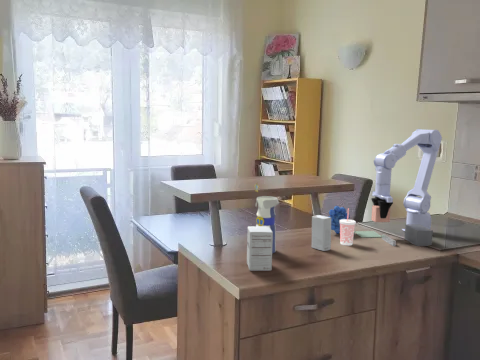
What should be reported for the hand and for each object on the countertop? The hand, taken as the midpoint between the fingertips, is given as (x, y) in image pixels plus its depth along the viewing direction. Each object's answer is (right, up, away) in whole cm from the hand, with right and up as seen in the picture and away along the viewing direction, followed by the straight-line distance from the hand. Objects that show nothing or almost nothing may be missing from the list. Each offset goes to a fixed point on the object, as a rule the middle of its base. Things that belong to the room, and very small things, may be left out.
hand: (380, 216), depth 183 cm
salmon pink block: (0, -2, 0) cm, 2 cm away
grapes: (-16, -8, +5) cm, 18 cm away
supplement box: (-51, -13, -38) cm, 65 cm away
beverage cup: (-16, -10, -9) cm, 21 cm away
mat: (-4, -8, +5) cm, 10 cm away
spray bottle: (-48, -11, -21) cm, 53 cm away
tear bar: (+1, -10, -6) cm, 11 cm away
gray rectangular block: (+13, -10, -5) cm, 17 cm away
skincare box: (-27, -11, -16) cm, 34 cm away
